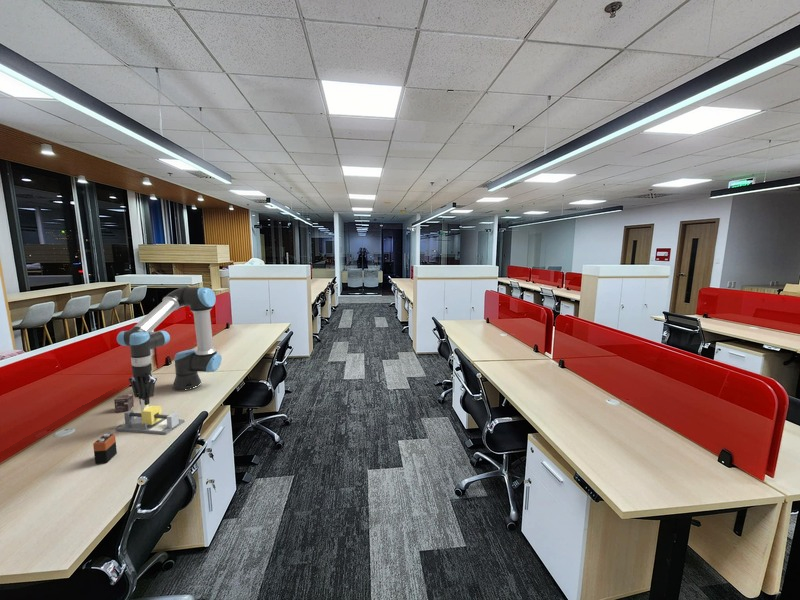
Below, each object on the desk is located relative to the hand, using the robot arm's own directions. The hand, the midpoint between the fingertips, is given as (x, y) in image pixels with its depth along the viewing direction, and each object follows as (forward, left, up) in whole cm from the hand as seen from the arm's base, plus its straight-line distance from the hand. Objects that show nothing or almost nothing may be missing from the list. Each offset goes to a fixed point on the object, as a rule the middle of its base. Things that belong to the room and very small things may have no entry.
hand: (145, 410), depth 161 cm
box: (-14, -25, -8) cm, 30 cm away
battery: (+26, +6, -8) cm, 28 cm away
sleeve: (0, +3, -6) cm, 6 cm away
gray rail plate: (0, +3, -8) cm, 8 cm away
